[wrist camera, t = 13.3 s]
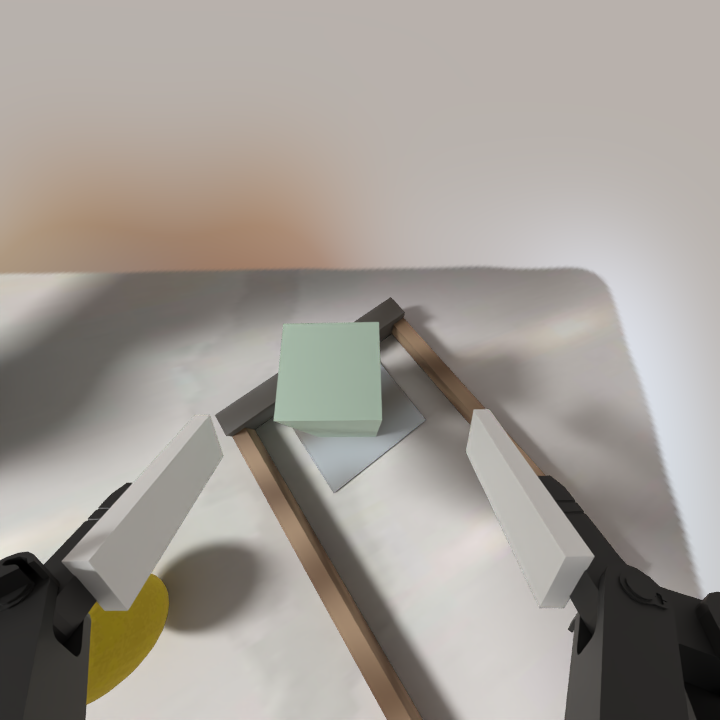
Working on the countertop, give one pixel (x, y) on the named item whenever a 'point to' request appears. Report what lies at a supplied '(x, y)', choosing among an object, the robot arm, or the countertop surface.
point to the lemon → (124, 637)
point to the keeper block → (330, 379)
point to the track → (338, 467)
